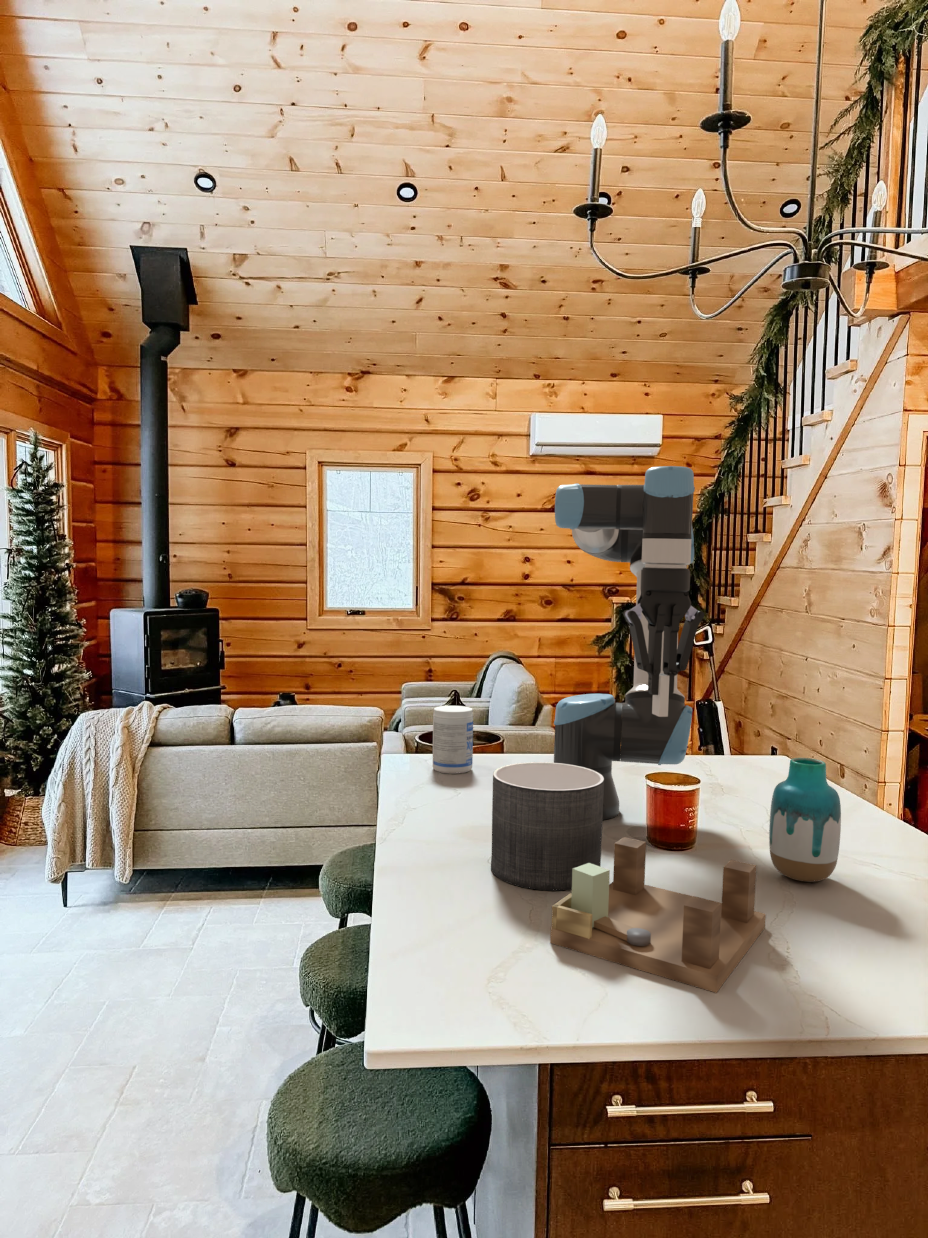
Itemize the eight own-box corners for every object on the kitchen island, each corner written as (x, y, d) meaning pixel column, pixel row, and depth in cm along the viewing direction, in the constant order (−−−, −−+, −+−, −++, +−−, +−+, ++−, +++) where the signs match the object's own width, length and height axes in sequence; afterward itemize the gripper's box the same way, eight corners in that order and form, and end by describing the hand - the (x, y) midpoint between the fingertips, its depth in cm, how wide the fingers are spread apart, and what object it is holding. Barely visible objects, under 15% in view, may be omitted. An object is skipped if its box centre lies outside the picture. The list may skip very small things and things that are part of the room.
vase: (834, 871, 141) (841, 757, 140) (840, 895, 131) (847, 772, 130) (766, 862, 145) (772, 751, 143) (767, 885, 135) (773, 765, 133)
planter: (527, 899, 127) (530, 795, 126) (471, 861, 143) (473, 768, 142) (623, 881, 135) (627, 783, 134) (560, 846, 151) (563, 758, 150)
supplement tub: (476, 774, 200) (477, 711, 199) (436, 775, 198) (437, 712, 197) (467, 764, 209) (468, 704, 208) (429, 765, 207) (430, 705, 206)
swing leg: (640, 949, 107) (642, 894, 106) (570, 919, 115) (572, 868, 114) (656, 941, 109) (658, 887, 109) (587, 912, 117) (589, 862, 117)
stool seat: (550, 943, 113) (552, 876, 112) (617, 891, 131) (619, 833, 130) (716, 993, 101) (719, 918, 100) (764, 927, 119) (768, 864, 118)
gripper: (693, 566, 139) (687, 709, 141) (617, 565, 137) (612, 711, 139) (715, 567, 132) (708, 718, 134) (636, 566, 129) (630, 720, 131)
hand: (659, 714), depth 136 cm, fingers closed
